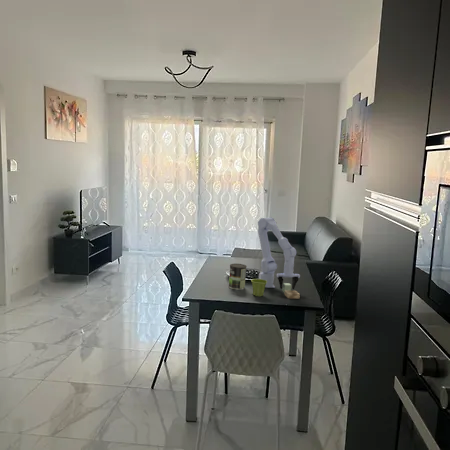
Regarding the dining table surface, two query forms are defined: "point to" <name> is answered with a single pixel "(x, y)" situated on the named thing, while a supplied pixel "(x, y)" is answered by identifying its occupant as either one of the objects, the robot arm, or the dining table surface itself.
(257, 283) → the plant pot
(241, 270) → the coffee can
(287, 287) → the sage cube
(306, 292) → the dining table surface
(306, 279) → the dining table surface
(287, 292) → the oak block
